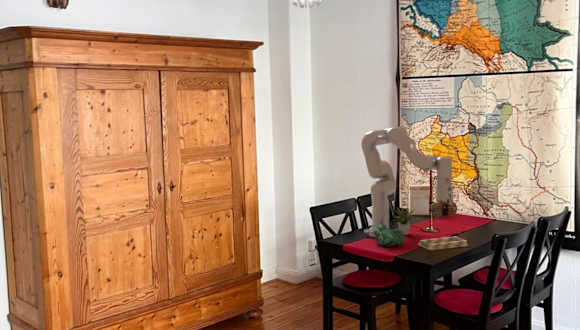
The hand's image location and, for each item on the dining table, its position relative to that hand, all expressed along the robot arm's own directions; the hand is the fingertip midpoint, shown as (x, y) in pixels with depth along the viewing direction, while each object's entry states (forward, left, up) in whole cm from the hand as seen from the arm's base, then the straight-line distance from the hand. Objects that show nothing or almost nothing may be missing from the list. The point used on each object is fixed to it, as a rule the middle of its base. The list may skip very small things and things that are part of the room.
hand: (443, 214), depth 314 cm
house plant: (-7, +28, -17) cm, 33 cm away
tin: (0, 0, -2) cm, 2 cm away
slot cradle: (0, 0, -17) cm, 17 cm away
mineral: (-26, +12, -17) cm, 33 cm away
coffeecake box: (+29, +71, -17) cm, 79 cm away
